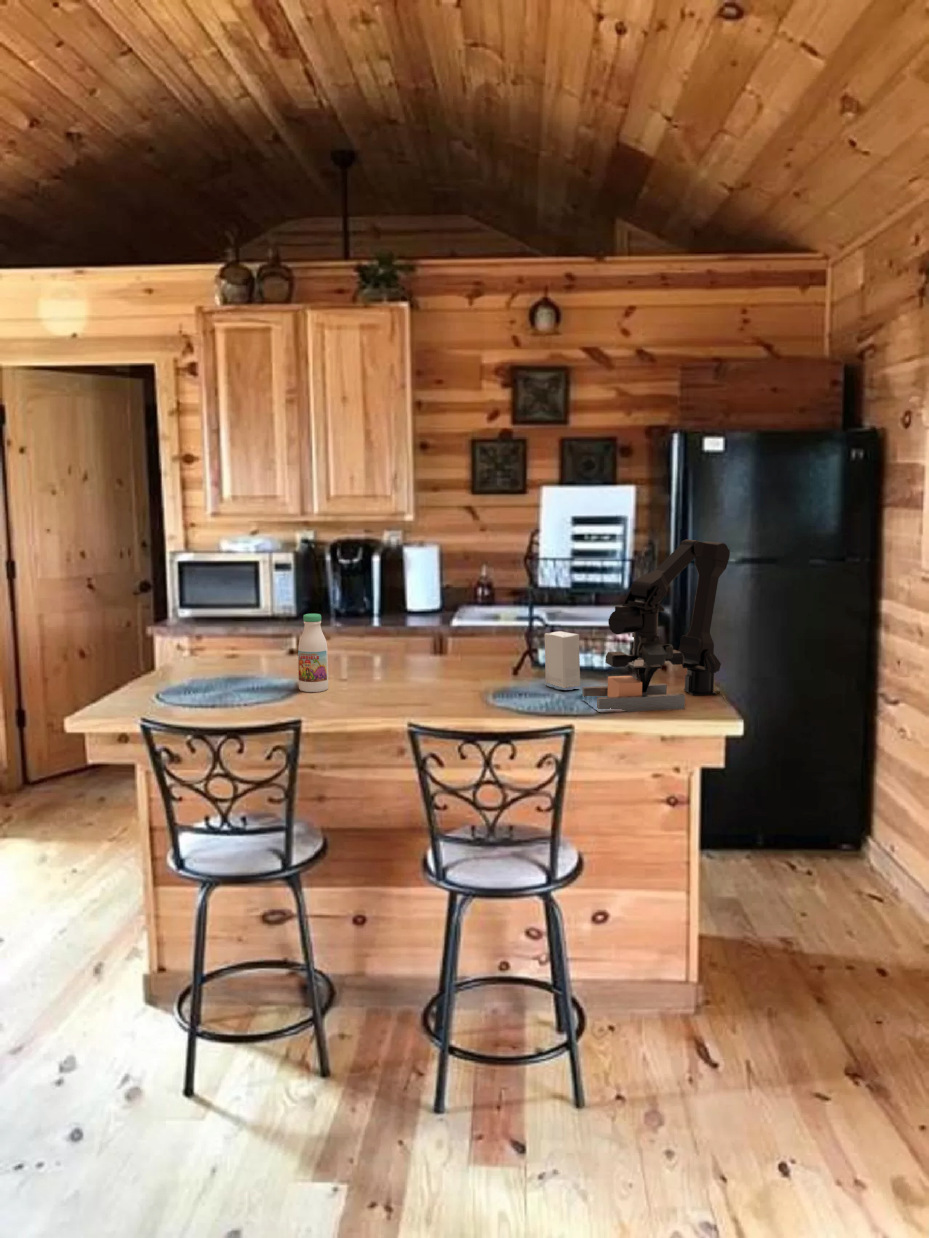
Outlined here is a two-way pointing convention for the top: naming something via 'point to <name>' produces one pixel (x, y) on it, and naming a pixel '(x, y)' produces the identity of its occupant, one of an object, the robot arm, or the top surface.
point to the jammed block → (624, 686)
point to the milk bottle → (313, 656)
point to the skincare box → (562, 659)
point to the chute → (638, 699)
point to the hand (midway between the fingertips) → (643, 692)
